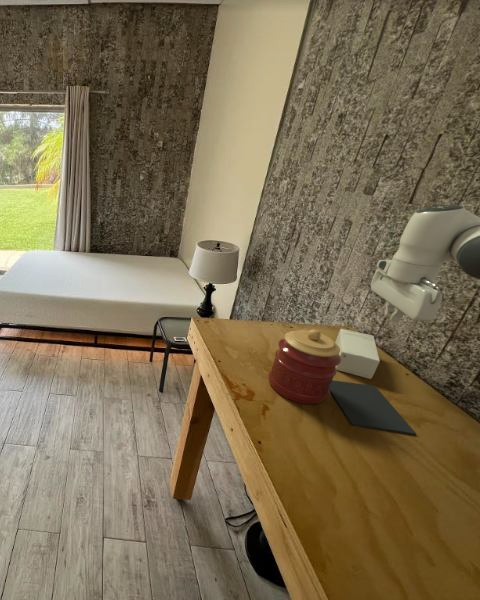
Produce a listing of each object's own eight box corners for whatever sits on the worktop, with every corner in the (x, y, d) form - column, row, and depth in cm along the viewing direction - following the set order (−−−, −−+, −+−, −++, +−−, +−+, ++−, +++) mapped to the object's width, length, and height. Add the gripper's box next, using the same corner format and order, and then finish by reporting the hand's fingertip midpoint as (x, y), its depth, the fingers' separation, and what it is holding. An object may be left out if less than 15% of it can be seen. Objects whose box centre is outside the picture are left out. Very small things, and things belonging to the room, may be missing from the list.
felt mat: (374, 387, 83) (375, 385, 83) (415, 435, 69) (416, 433, 69) (322, 380, 86) (322, 378, 86) (351, 425, 72) (352, 423, 72)
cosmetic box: (333, 344, 101) (332, 369, 90) (340, 326, 98) (340, 350, 87) (367, 353, 97) (371, 381, 86) (376, 334, 94) (380, 361, 83)
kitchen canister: (327, 385, 84) (351, 327, 77) (323, 413, 75) (348, 351, 68) (272, 366, 92) (289, 312, 84) (262, 390, 83) (279, 332, 75)
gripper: (460, 288, 70) (433, 341, 76) (401, 259, 88) (383, 304, 93) (425, 286, 71) (401, 338, 77) (374, 258, 89) (357, 302, 95)
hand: (390, 319), depth 85 cm, fingers closed
